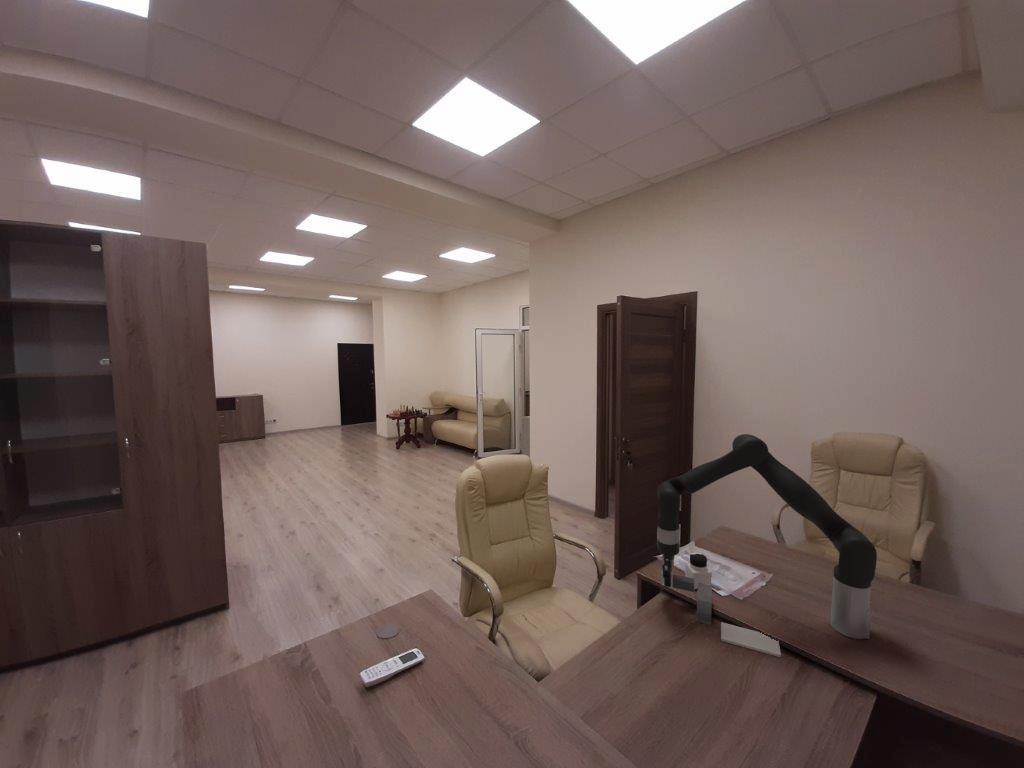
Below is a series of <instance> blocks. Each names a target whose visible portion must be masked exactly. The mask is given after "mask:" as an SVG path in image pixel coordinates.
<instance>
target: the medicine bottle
mask: <svg viewBox="0 0 1024 768" xmlns="http://www.w3.org/2000/svg"><path fill="white" fill-rule="evenodd" d="M684 567H685V571H684V572H685V573H684V574H685V575H684V577H689V578H693V579H694V588H696V589H697V588H698V583H702V584H706V585H711V586H712V571H711V570H710V568H709V567H708V558H707V556H706V555H705V554H703V553H701V552H692V553H690V555H689V562H688V561H687V562H685V566H684ZM697 590H698V589H697Z"/></svg>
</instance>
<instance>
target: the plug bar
mask: <svg viewBox="0 0 1024 768" xmlns="http://www.w3.org/2000/svg"><path fill="white" fill-rule="evenodd" d="M674 573H675V572H674V571H672V572H671V576H672V577H671V587H670V589H671V588H672V589H673V588H674V589H679V590H683V591H688V592H690V593H694V592H695V590H694V579H693V578H689V577H685V575H679V574H674ZM660 585H662V586H663V587H666V588H667V586H665V585H664V578H663V569H661V573H660Z"/></svg>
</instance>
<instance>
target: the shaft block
mask: <svg viewBox="0 0 1024 768" xmlns="http://www.w3.org/2000/svg"><path fill="white" fill-rule="evenodd" d="M712 597H713V585H712V584H711V585H706V584H702V583H698V589H697V595H696V620H695V621H696V622H697V623H701V624H704V625H709V626H712V607H713V606H712V605H713V604H712V603H713V602H712V601H713V598H712Z"/></svg>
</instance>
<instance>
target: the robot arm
mask: <svg viewBox="0 0 1024 768" xmlns="http://www.w3.org/2000/svg"><path fill="white" fill-rule="evenodd" d="M731 446H732V450H730V451H729V452H728V453H727V454H726V453H725V455H723V456H721V457H719V458H715V460H711V461H708V462H705V463H702V464H700V465H697V466H695V467H693V468H692V469H690V470H688V471H686V472H685V473H683V474H682V475H679V476H675V477H673V478H670V479H668V480H665V481H663V482H662V483H660V484H659V485H658V487H656V495H657V498H658V513H657V528H656V529H657V530H656V532H657V533H656V548H657V550H658V552H659V553H660V554H662V556H661V562H662V566H661V567H662V569H661V570H663V578H664V585H665V586H664V587H666V586H667V587H668V588H671V577H672V576H671V572H672V571H673V570H674V565H675V556H677V555H679V553H680V530H679V529H680V527H679V514H680V507H681V504H680V503H681V500H680V499H681V498H680V496H681V495H683V494H686V493H687V494H689V495H692V494H695V493H696V492H699V491H701V490H702V489H704V488H706V487H708V486H709V485H711V484H714V483H715V482H716V481H718V480H720V479H723V478H725V477H728V476H729V475H731V474H733V473H737V472H738V471H741V470H744V469H747V468H750V467H751V468H752V469H754V470H755V472H757V473H758V474H759V475H760V476H761V477H762V478H763V479H764V480H765V482H766V483H767V484H768V485H769V487H771V488H772V490H773V491H774V492H775V493H776V494H777V495H778V496H779V498H780V499H781V500H783V501H784V503H786V504H787V505H788V506H789V507H790V508H791V509H792V510H793V511H795V512H796V513H797V514H798V515H800V516H801V517H803V518H805V519H806V520H808V521H810V522H811V523H812V524H814V525H815V526H816V527H817V529H819V530H820V531H821V532H822V533H823V534H824V535H825V537H827V538H828V540H829V541H830V542H831V543H832V545H833V547H834V548H835V549H836V550H837V552H838V554H839V556H838V564H837V565H835V566H834V568H833V576H832V593H831V606H830V620H829V621H830V626H831V627H832V628H833V629H834V630H835V631H836V632H837V633H839V634H841V635H843V636H845V637H847V638H851V639H856V640H863V639H867V640H870V635H871V622H872V610H871V608H870V602H871V600H870V599H871V587H872V582H873V580H874V579H875V575H876V570H877V560H878V553H877V549H876V546H875V545H874V544H873V543H872V541H871V540H870V539H869V538H868V537H867V536H866V535H865V534H864V533H863V532H862V531H860V530H859V529H857V528H856V527H854V525H852V524H850V522H848V521H847V520H845V519H844V518H843V517H842V516H840V514H838V513H837V512H836V511H835V510H834V509H833V508H832V507H831V506H830V505H829V503H828V502H827V501H826V500H825V499H824V498H823V497H822V495H821V494H820V493H819V492H818V491H817V490H816V489H815V488H813V486H811V485H810V484H809V483H808V482H807V481H806V480H805V479H803V478H802V477H801V476H799V475H798V474H797V473H796V472H794V471H793V470H791V469H790V468H788V467H787V466H785V464H783V463H781V462H780V461H779V460H778V459H776V457H774V455H773V454H772V453H771V452H770V451H769V447H768V445H767V443H766V442H765V441H764V440H762V439H761V438H759V437H757V436H756V435H753V434H750V433H749V434H748V433H746V434H745V433H743V434H739V435H737V436H736V437H734V439H733V441H732V445H731ZM673 572H674V571H673ZM667 587H666V588H667Z"/></svg>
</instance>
